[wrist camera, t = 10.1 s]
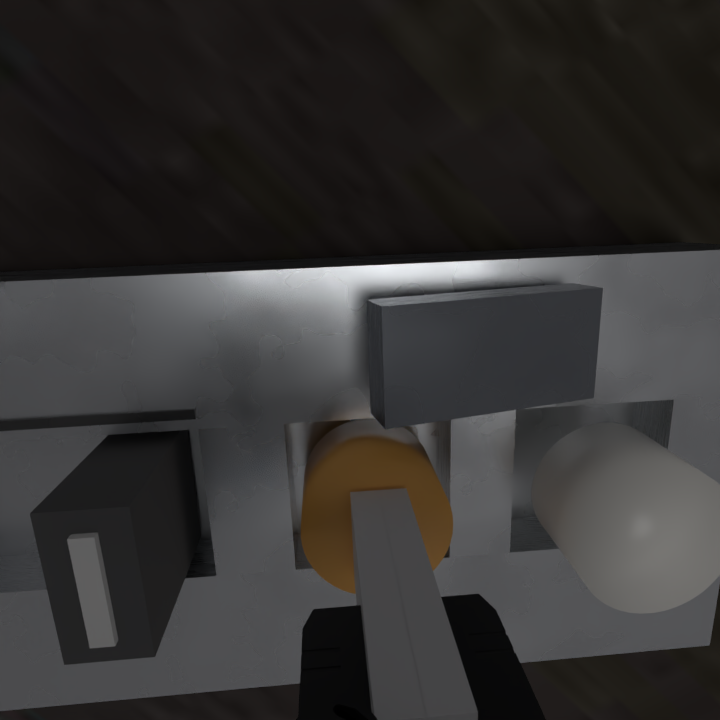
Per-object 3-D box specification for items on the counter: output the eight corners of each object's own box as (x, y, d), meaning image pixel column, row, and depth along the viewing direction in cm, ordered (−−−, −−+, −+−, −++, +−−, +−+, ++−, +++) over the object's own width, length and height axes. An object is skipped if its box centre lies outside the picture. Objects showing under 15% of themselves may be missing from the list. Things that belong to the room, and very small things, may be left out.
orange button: (308, 539, 18) (305, 601, 15) (299, 422, 16) (295, 465, 14) (430, 530, 18) (452, 589, 15) (430, 414, 17) (454, 454, 14)
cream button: (528, 550, 16) (571, 620, 14) (534, 427, 15) (584, 474, 13) (655, 540, 17) (725, 606, 14) (670, 418, 16) (749, 462, 13)
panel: (-31, 628, 21) (-125, 739, 16) (-129, 277, 17) (-285, 296, 13) (643, 572, 23) (721, 658, 18) (682, 242, 19) (793, 248, 14)
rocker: (370, 412, 14) (384, 429, 13) (366, 299, 13) (381, 306, 12) (565, 385, 15) (594, 397, 14) (572, 283, 14) (603, 287, 13)
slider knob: (136, 540, 18) (60, 671, 13) (117, 426, 17) (25, 518, 12) (201, 535, 18) (152, 663, 13) (186, 422, 17) (126, 511, 12)
